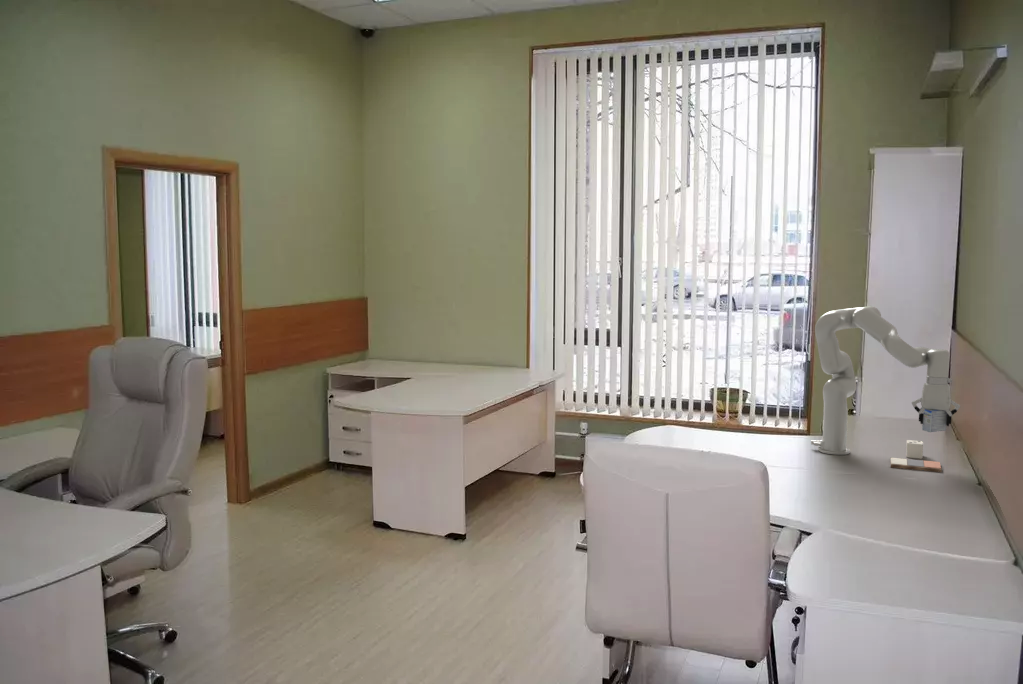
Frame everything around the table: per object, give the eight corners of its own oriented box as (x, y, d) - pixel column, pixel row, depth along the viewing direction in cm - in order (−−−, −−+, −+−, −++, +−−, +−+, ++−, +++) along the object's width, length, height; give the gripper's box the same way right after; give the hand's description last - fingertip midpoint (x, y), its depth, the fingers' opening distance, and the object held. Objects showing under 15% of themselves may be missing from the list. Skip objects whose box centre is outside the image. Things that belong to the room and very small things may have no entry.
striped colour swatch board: (890, 467, 340) (890, 464, 339) (890, 460, 351) (890, 456, 350) (941, 472, 332) (941, 468, 332) (939, 464, 343) (939, 461, 343)
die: (906, 457, 355) (907, 442, 355) (906, 453, 361) (906, 439, 360) (922, 458, 353) (923, 444, 352) (921, 455, 359) (922, 441, 358)
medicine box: (937, 428, 341) (938, 407, 340) (946, 431, 337) (947, 409, 336) (921, 430, 338) (922, 408, 337) (930, 432, 334) (931, 410, 333)
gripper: (961, 381, 335) (958, 424, 337) (912, 378, 342) (909, 420, 344) (962, 384, 328) (960, 428, 330) (912, 380, 335) (910, 424, 337)
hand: (934, 424), depth 337 cm, fingers closed on medicine box, 8 cm apart
